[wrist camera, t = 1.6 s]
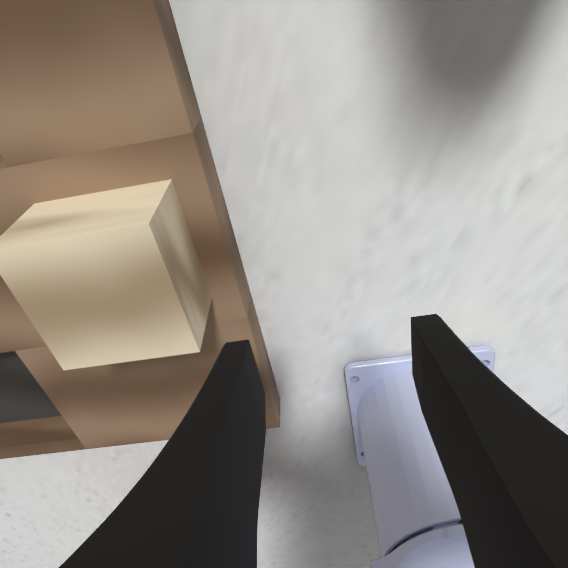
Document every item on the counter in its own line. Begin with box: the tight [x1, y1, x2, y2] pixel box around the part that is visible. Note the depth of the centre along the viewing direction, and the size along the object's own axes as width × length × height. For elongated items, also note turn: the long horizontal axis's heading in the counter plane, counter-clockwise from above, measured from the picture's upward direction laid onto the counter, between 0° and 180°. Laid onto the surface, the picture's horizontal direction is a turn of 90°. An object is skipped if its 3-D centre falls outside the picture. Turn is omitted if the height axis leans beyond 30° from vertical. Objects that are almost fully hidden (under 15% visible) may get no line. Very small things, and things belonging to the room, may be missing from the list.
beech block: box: [0, 179, 212, 370], centre depth 17 cm, size 6×6×4 cm
